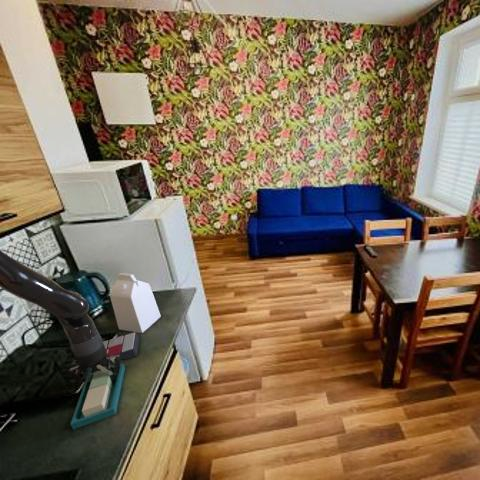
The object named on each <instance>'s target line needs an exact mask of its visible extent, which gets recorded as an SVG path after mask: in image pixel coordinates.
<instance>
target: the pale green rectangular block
mask: <svg viewBox="0 0 480 480" xmlns="http://www.w3.org/2000/svg"><path fill="white" fill-rule="evenodd" d="M105 384H107V385H108V387H109V389H110V391H111V388H112V384H113V383H112V382H111V380H110V377H109V374H107V373H104V372H103V371H97V372H95V373H94V375H93V378H92V381H91V384H90V387H89V389H93V388H96V387H99V386H102V385H105Z"/></svg>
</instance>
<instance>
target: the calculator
mask: <svg viewBox="0 0 480 480" xmlns="http://www.w3.org/2000/svg"><path fill="white" fill-rule="evenodd" d="M138 334H139V333H138V332H131V333H128V334H125V335H120V336H116V337H114V338H112V339H109V340H103V343H104V346H105V348H106V351H107V354H108V355H110V356H115V355H116V354H118V353H119V354H120V361H122V360H128V359H131V358H135V357H136V356H138V349H139V341H140V337H139V335H138ZM109 363H110V364H114V363H113V362H112V360H110V361H109Z"/></svg>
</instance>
